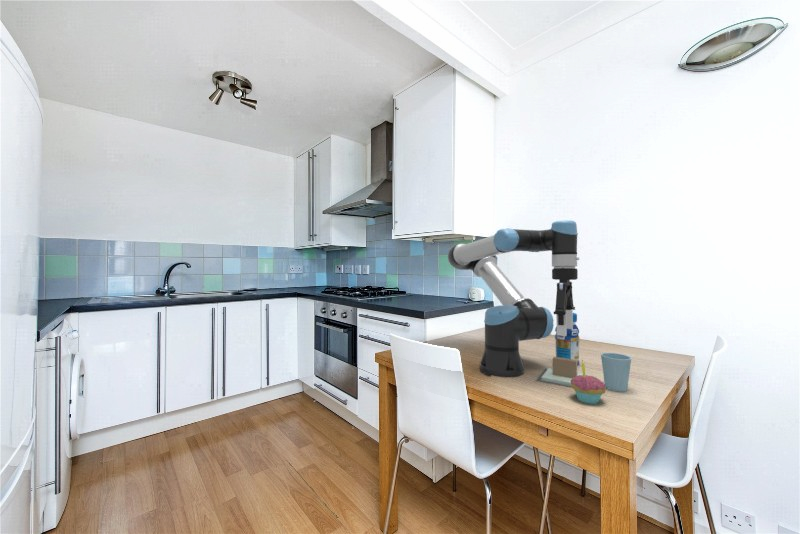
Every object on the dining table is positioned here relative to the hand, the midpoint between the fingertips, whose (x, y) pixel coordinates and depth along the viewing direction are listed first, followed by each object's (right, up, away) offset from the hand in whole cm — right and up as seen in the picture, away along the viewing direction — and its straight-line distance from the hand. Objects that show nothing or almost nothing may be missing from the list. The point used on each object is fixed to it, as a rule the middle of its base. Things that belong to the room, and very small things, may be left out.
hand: (565, 332), depth 105 cm
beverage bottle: (+9, -16, +17) cm, 25 cm away
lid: (0, -16, 0) cm, 16 cm away
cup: (+11, -16, -8) cm, 21 cm away
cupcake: (-2, -16, -16) cm, 23 cm away
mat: (0, -16, 0) cm, 16 cm away
